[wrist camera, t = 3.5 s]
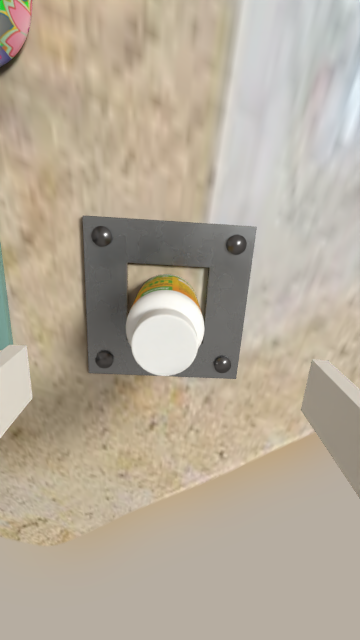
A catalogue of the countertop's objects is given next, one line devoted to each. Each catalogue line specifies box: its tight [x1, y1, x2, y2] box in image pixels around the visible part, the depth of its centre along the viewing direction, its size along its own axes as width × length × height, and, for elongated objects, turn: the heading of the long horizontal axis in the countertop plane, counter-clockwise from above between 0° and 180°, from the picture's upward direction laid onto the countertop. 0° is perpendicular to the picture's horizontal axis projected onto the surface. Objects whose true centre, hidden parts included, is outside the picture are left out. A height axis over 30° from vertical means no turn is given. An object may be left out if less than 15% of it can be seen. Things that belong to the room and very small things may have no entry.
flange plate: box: [83, 216, 257, 379], centre depth 26 cm, size 14×14×1 cm
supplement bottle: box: [126, 274, 204, 376], centre depth 22 cm, size 5×5×10 cm
